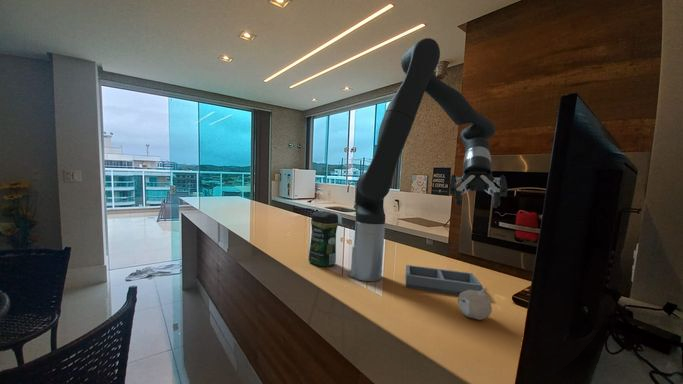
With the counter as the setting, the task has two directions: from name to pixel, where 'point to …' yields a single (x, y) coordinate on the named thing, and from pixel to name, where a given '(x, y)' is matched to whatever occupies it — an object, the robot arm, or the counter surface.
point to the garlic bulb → (475, 304)
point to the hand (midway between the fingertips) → (477, 204)
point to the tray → (440, 280)
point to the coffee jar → (323, 238)
